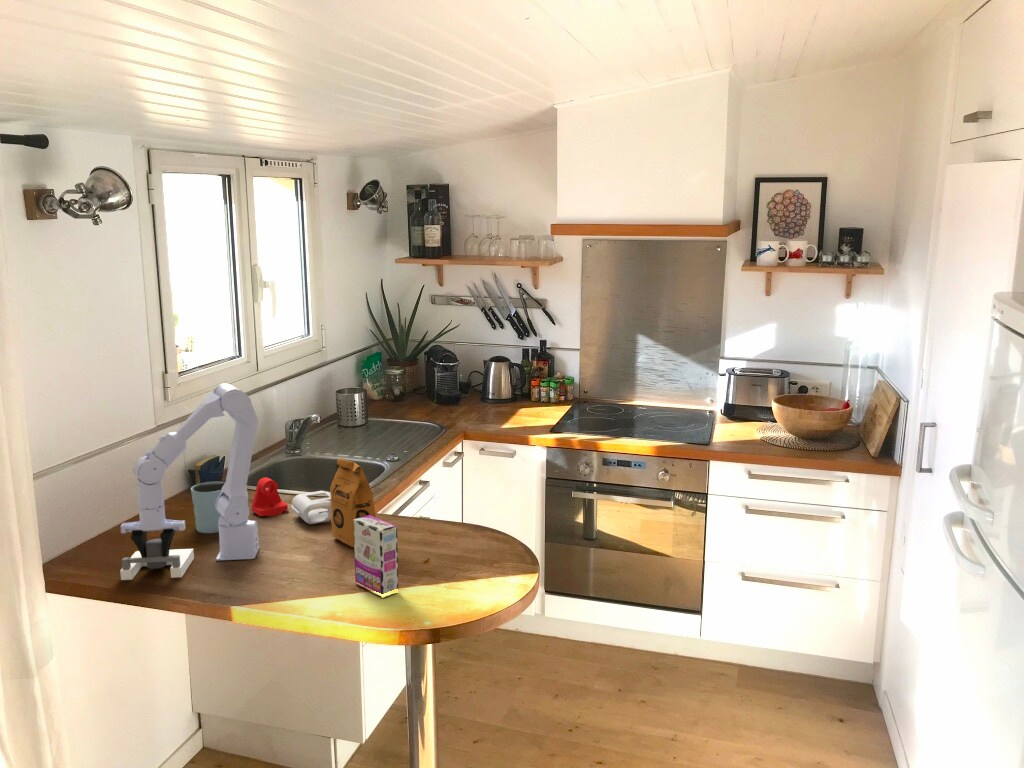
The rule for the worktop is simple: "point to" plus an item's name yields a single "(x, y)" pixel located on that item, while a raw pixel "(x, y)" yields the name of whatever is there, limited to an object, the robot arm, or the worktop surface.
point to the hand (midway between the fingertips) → (156, 558)
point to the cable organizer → (304, 506)
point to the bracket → (267, 499)
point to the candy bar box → (376, 554)
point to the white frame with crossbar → (176, 558)
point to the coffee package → (349, 500)
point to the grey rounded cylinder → (154, 553)
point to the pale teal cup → (206, 506)
